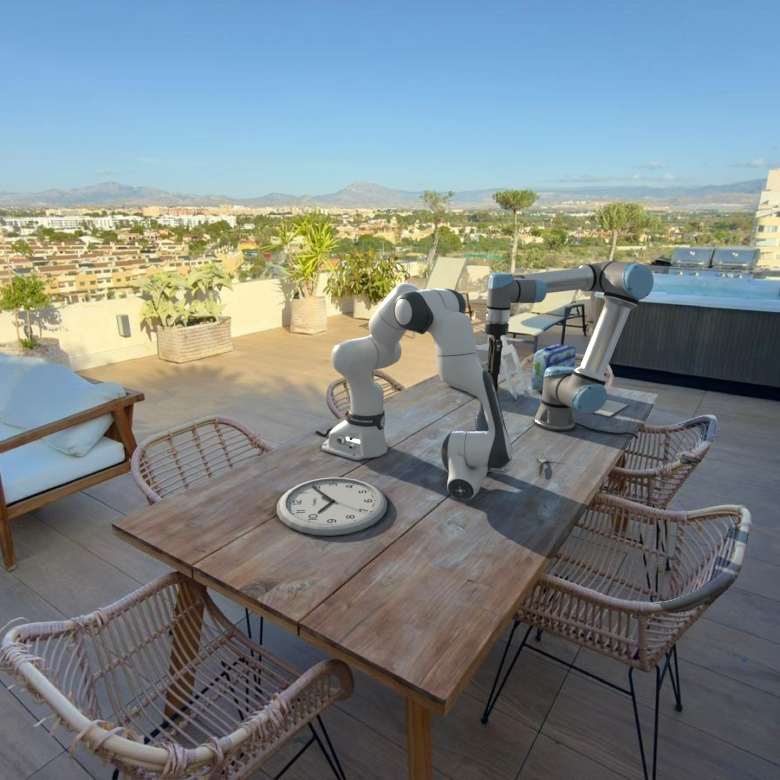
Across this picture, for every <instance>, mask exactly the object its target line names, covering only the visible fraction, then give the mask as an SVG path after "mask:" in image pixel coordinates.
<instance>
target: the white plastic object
mask: <svg viewBox="0 0 780 780" xmlns="http://www.w3.org/2000/svg"><path fill="white" fill-rule="evenodd" d="M501 340H502V346H503V347H502V352H501V362H500V366H502V370H503V373H504V376H505V380H506V383H507V386H508V390H509V393H510V394H511V395H512V397H513V398H514V399H515V400H517V392H516V391H517V390H516V388H515V385H514V381H513V378H512V375H511V371H510V369H509V365H508V361H510V360H513V363H514V366H515V369H516V372H517V376H518V380H519V382H520V385H521V389H522V391H523V393H524V395H525V396H526V397H528V396H531V395H530V390H529V388H528V387H529V386H528V384H527V381H526V378H525V375H524V371H523V369H522V368H523V367H522V366H521V362H520V359H519V355H518V352H517V349H516V347H515V346H514V345H513V343H511V344H508V341H507V337H506V335H502V336H501ZM476 349H477V357H478V361H479V363H480V365H481V367H482V368H483V369H484V370H485V371H487V372H488V370H489V369H488V366H487V362H488V349H489V342H487V343H483V344H479V345H476ZM440 381H442V383H443V384H444V385H445V386H450V385H449V384H447V383H446V382H444V381H443V380H442V379H441V378H440Z"/></svg>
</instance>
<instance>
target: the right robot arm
mask: <svg viewBox="0 0 780 780" xmlns="http://www.w3.org/2000/svg"><path fill="white" fill-rule="evenodd" d="M488 278H489V279H488V283H487V299H486V310H485V311H484V314H485V320H486V322H485V324H484V333H485V334H486V335H490V336H489V337H488V344H489V349H488V362H487V366H488V369H489V370H488V372H489V373H490V375H491V377H492V379H493V382H494V385H495V388H496V392H497V393H498V391H497V384H499V383H498V382H499V375H500V373H501V372H500V371H501V365H500V362H501V352H502V348H503V345H502V340H501V336H502V335H505V336H507V335H508V334H509V327H510V324H509V322H510V317H511V307H512V304H537V303H538V304H539V303H542V302H543V301H545V299H546V298H547V294H553V293H561V292H569V291H570V292H571V291H578V290H580V291H581V292H585V293H586V292H596V293H603V294H602V299H603V300H604V304H603V306H602V310H601V312H600V315H599V317H598V320H597V323H596V325H595V327H594V330H593V332H592V335H591V338H590V340H589V341H588V342H589V343H588V345H587V347H586V350H585V353H584V355H583V357H582V361H581V363H580V365H579V366H578V367H574V368H573V367H564V366H556V367H549V368H547V369H546V370H545V374H544V382H543V391H541V393H542V394H541V402H540V405H539V407H538V410H537V411H536V413H535V416H534V424H535V425H536V426H537V427H539V428H542V429H544V430H549V431H556V432H567V431H572V430H574V429H575V428H576V426H578V427H581V428H583V429H586V430H589V431H593V432H597V433H601V434H609V435H615V436H616V435H617V436H625V435H626V436H627V435H629V436H632V437H634V438H635V439H639V436H638V435H637V434H636V433H633V432H629V431H627V432H626V431H625V432H615V431H609V430H602V429H597V428H593V427H589V426H586V425H584V424H582V423H579V422H576V418H575V417H576V416H575V413H574V412H575V411H576V412H578V413H581V414H583V415H584V414H585V415H590V414H595V413H594V412H595V411H598V410H599V409H601V408H602V407H603V405H604V404H605V402H606V400H608V393H607V391H608V390H607V388H606V387H605V385H606V383H607V379H606V377H605V374H606V371H607V368H608V367H609V363H610V361H611V358H612V356H613V353H614V352H615V349H616V346H617V344H618V341H619V339H620V336H621V334H622V332H623V330H624V328H625V324H626V322H627V319H628V317H629V314H630V312H631V310H633V309H635V308H637V307H638V305H639V302H640V301H641V300H644V299H645V298H647V297H648V296H649V295H650V294H651V293H652V290H653V287H654V282H655V278H654V275H653V271H652V270H651V268H650V267H649V266H648V265H646V264H644V263H640V262H635V261H618V260H606V261H599V262H594V263H588V264H581V265H580V266H579V267H576V268H567V269H560V270H549V271H540V272H539V271H538V272H531V273H522V274H513V273H509V272H492V273H491V274H490V275H489V277H488Z"/></svg>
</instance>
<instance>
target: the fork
mask: <svg viewBox="0 0 780 780" xmlns="http://www.w3.org/2000/svg"><path fill="white" fill-rule="evenodd" d="M538 461H539V462H540V465H539V467H538V468H539V469H538V470H539V475H541V474H542V472H543V470H544V463H546V462H547V461H548V451H547V452H546V454H544V452H542V451H540V453H539V457H538Z"/></svg>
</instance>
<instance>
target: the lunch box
mask: <svg viewBox="0 0 780 780" xmlns="http://www.w3.org/2000/svg"><path fill="white" fill-rule="evenodd" d="M576 357H577V355H576V347H575V346H569V345H565V344H554V345H550V346H547V347H544V348H542V349H541V348H540V349H539V350H537V351H536V352H535V353H534V356H533V360H532V367H531V368H532V369H531V382H530V383H531V386H530V387H531V389H532V390H533V391H537V392H542V391H543V382H544V374H545V370H546V369H547V368H549V367H556V366H564V367H573V368H575V364H576Z"/></svg>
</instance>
